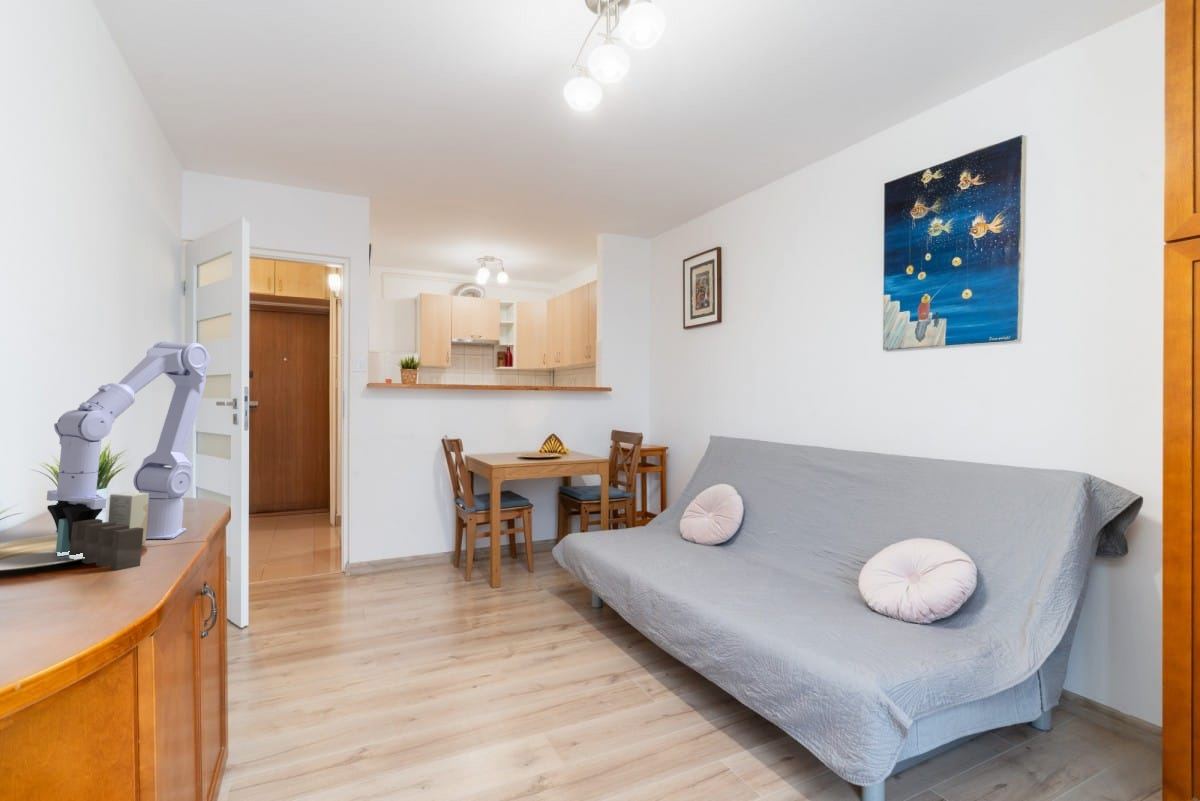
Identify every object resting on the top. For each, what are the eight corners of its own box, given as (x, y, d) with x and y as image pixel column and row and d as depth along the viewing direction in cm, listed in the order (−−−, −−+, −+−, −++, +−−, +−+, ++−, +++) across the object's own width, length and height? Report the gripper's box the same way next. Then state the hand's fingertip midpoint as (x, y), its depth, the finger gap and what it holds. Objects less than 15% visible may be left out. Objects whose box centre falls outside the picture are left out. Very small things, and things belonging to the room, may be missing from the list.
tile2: (68, 558, 108) (72, 521, 108) (93, 554, 112) (97, 518, 112) (74, 560, 108) (78, 523, 108) (98, 555, 111) (102, 520, 112)
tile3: (82, 562, 107) (85, 524, 107) (106, 557, 111) (110, 521, 111) (87, 563, 106) (91, 526, 106) (112, 559, 110) (115, 522, 110)
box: (146, 545, 121) (151, 493, 121) (127, 550, 116) (132, 495, 117) (123, 543, 121) (128, 490, 122) (104, 547, 117) (109, 493, 117)
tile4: (95, 565, 105) (99, 527, 106) (120, 561, 109) (123, 524, 109) (101, 567, 105) (105, 528, 105) (125, 562, 109) (129, 525, 109)
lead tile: (55, 555, 109) (59, 519, 110) (80, 551, 113) (83, 516, 113) (60, 557, 109) (64, 520, 109) (85, 552, 113) (89, 517, 113)
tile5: (110, 569, 104) (113, 530, 104) (134, 564, 108) (137, 527, 108) (115, 570, 104) (119, 532, 104) (140, 565, 107) (143, 528, 108)
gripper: (30, 469, 110) (23, 539, 110) (78, 477, 105) (70, 551, 105) (74, 467, 117) (67, 533, 116) (120, 474, 112) (114, 544, 112)
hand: (72, 541), depth 111 cm, fingers open, 3 cm apart
